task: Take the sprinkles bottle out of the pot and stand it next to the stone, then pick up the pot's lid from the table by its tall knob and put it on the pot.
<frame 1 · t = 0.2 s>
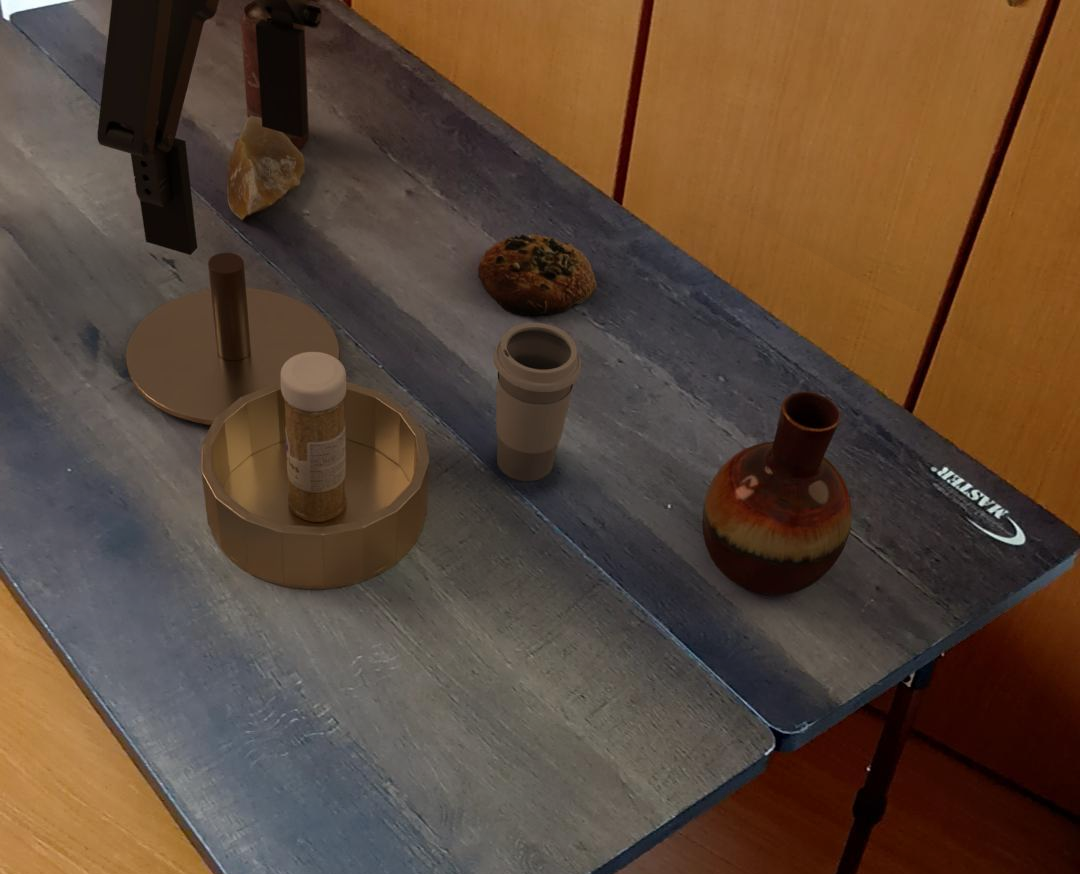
hand: (231, 184, 77), 31 cm above the table, tool pointing down, fingers open, 13 cm apart
sprinkles bottle: (318, 505, 102), resting on pot
pot lid: (234, 355, 113), point 1 cm above the table
cup: (524, 463, 108), on the table
pot: (318, 508, 102), on the table
bread roll: (535, 284, 125), on the table
vase: (762, 559, 104), on the table
stone: (265, 199, 130), on the table
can: (280, 143, 137), on the table
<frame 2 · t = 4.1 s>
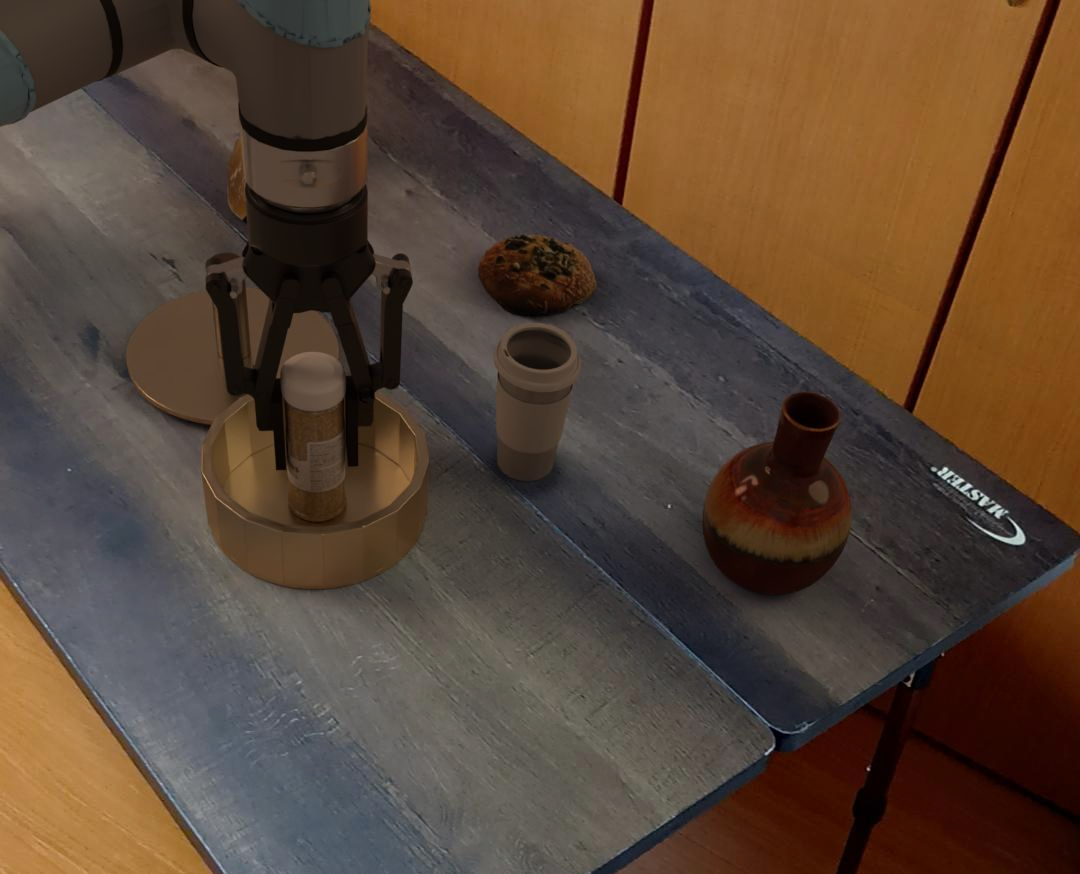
hand: (316, 455, 98), 6 cm above the table, tool pointing down, fingers closed on sprinkles bottle, 4 cm apart
sprinkles bottle: (318, 505, 102), resting on pot, touching gripper
everything else where it was.
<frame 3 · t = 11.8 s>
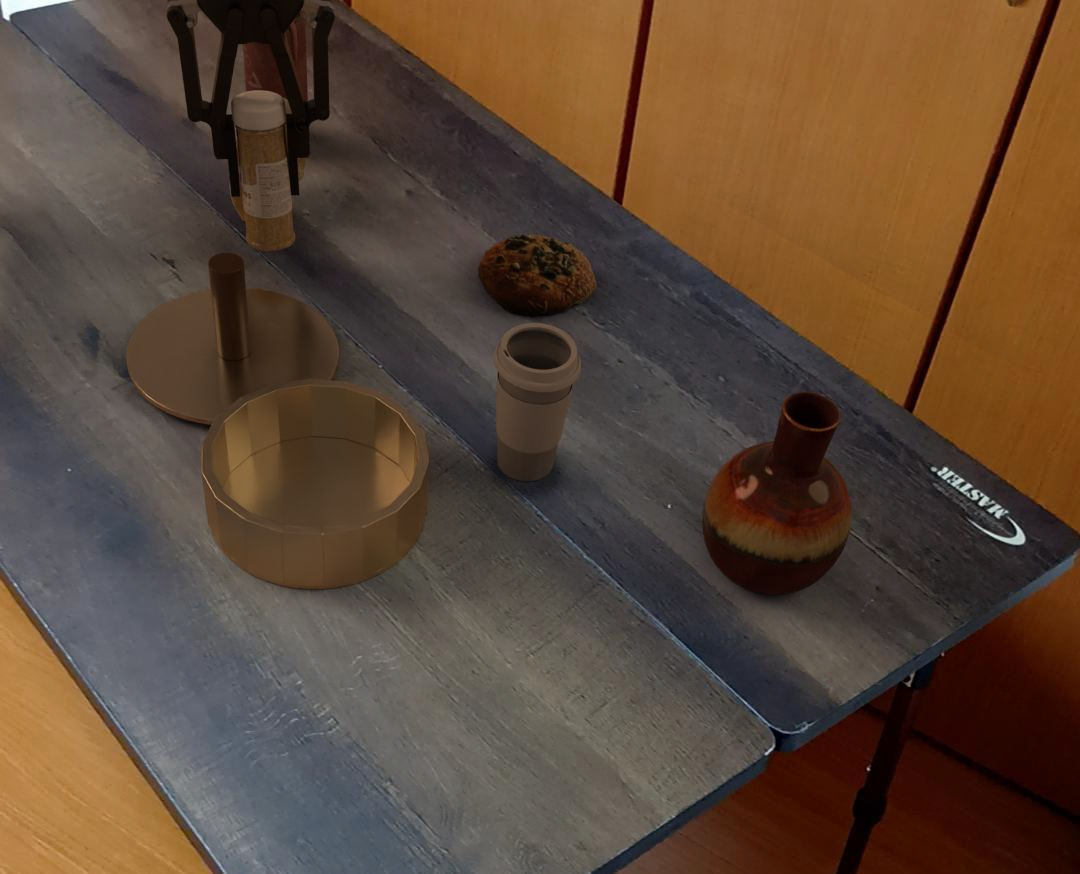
hand: (265, 187, 119), 7 cm above the table, tool pointing down, fingers closed on sprinkles bottle, 4 cm apart
sprinkles bottle: (271, 243, 122), point 2 cm above the table, touching gripper, stone
stone: (265, 184, 129), point 2 cm above the table, touching sprinkles bottle
everything else where it was.
when the fingers open (7 cm above the table, at t = 11.9 s): sprinkles bottle drops 2 cm, on the table.
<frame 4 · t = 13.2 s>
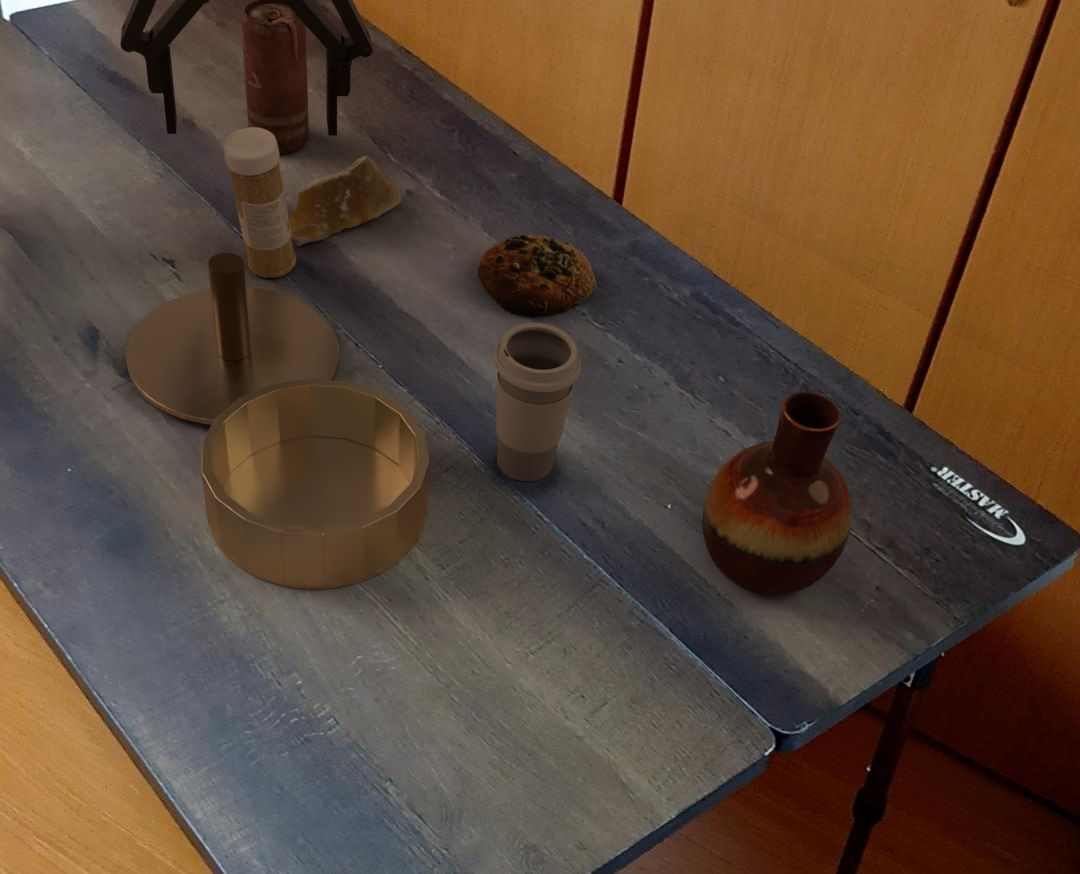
hand: (252, 126, 115), 13 cm above the table, tool pointing down, fingers open, 13 cm apart
sprinkles bottle: (273, 265, 123), on the table
stone: (322, 173, 127), point 4 cm above the table
everything else where it was.
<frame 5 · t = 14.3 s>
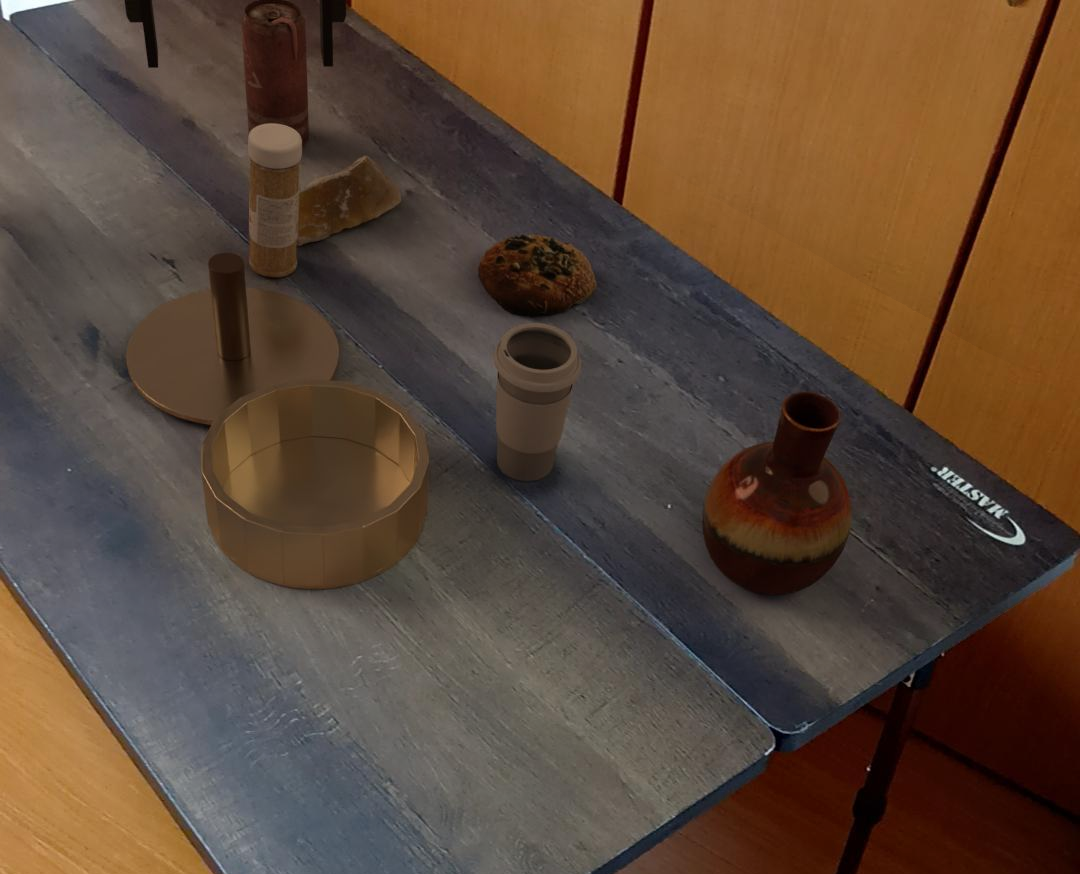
hand: (241, 59, 106), 21 cm above the table, tool pointing down, fingers open, 13 cm apart
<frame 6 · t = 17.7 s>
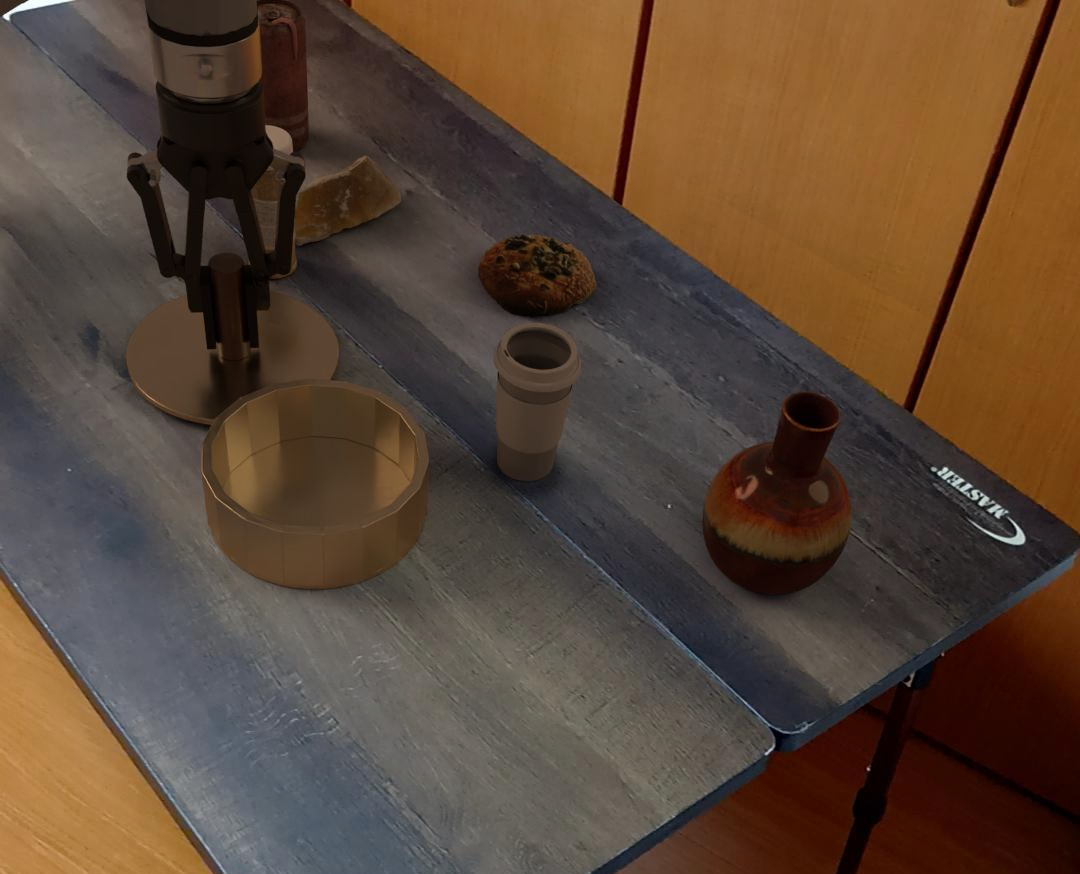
hand: (232, 338, 111), 3 cm above the table, tool pointing down, fingers closed on pot lid, 3 cm apart
pot lid: (234, 355, 113), point 1 cm above the table, touching gripper
everything else where it was.
when the fingers open (8 cm above the table, at t = 25.1 s): pot lid stays where it is, resting on pot.
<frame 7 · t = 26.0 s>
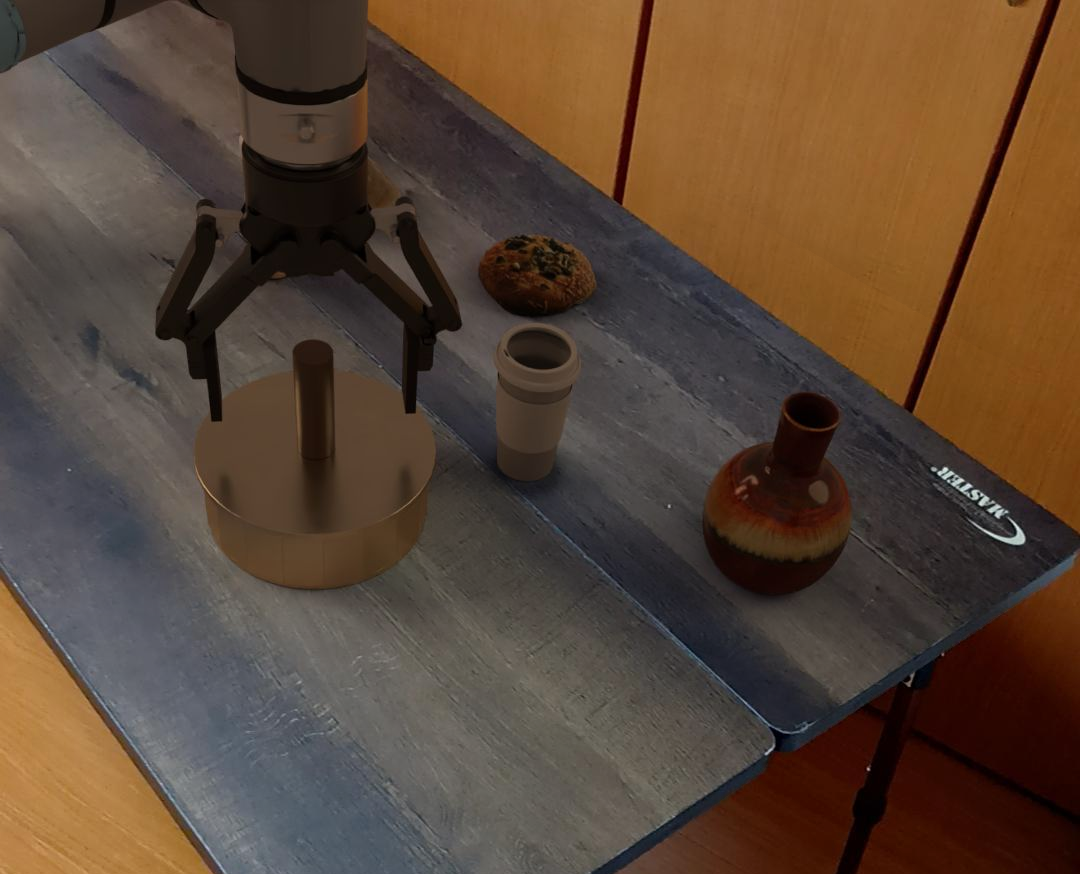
hand: (314, 405, 95), 11 cm above the table, tool pointing down, fingers open, 13 cm apart
pot lid: (316, 452, 98), point 6 cm above the table, touching pot
everything else where it was.
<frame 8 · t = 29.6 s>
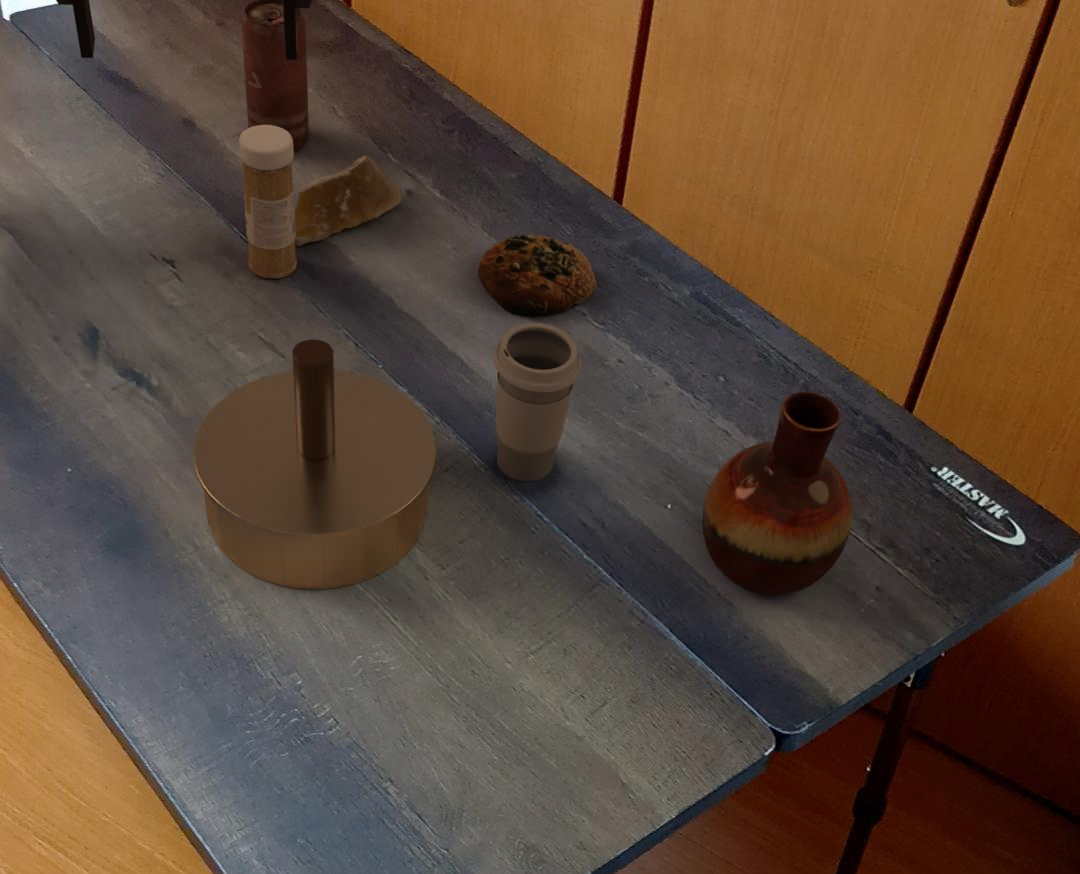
hand: (190, 49, 91), 29 cm above the table, tool pointing down, fingers open, 13 cm apart
nothing on the table moved.
at the end: sprinkles bottle 10.5 cm from the stone (horizontally); sprinkles bottle tilted 0°; pot lid 0.0 cm off-centre on the pot, point 6.0 cm above the pot's base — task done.
